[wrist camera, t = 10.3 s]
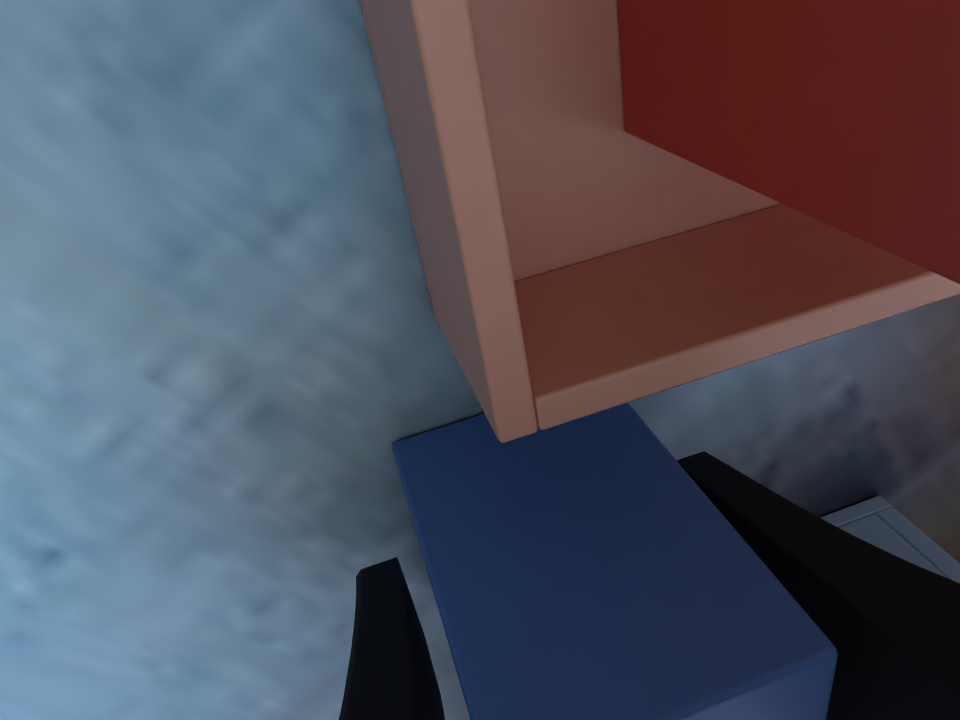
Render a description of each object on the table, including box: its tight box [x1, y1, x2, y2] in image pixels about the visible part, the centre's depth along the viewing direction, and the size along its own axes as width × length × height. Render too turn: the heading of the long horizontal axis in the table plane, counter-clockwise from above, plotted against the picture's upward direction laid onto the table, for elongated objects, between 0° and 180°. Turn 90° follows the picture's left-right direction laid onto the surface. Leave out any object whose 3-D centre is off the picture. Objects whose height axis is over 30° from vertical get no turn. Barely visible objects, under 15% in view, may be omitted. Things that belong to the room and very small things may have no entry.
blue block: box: [392, 403, 838, 720], centre depth 11 cm, size 4×4×6 cm
